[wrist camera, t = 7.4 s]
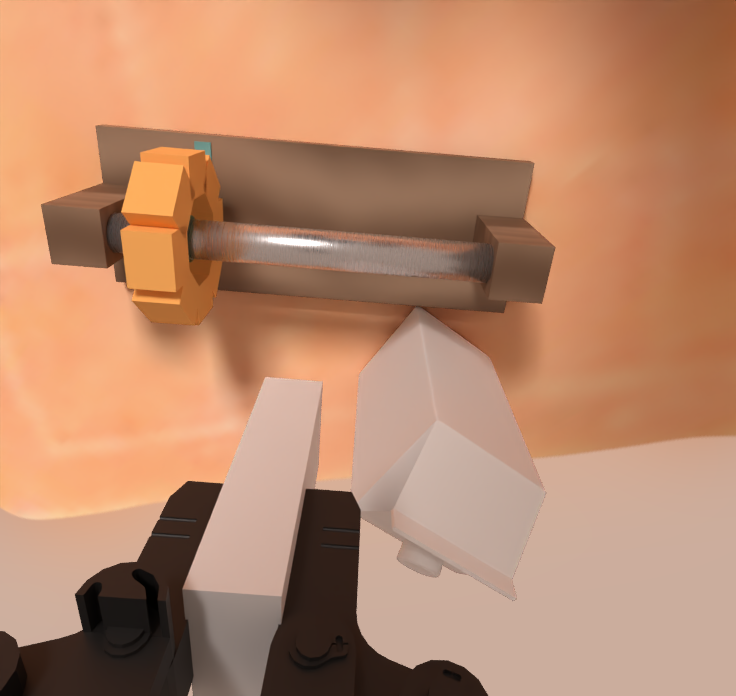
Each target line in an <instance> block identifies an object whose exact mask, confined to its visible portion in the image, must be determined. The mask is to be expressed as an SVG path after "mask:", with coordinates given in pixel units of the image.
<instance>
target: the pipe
mask: <svg viewBox="0 0 736 696" xmlns="http://www.w3.org/2000/svg"><path fill="white" fill-rule="evenodd" d="M129 225H130V224H129V223H128V221H127V220H126V218H125V217H124V215H123V214H122V213H112V214H111V215H110V217H109V219H108V222H107V227H106V237H107V242H108V245H109V248H110V249H111V251H113V252H114V253H123V248H122V240H121V232H120V230H121V229H123V228H125V227H127V226H129ZM187 240H188V254H189V262H192V261H193V260H194V259H199V260H211V261H223V262H236V263H248V264H260V265H272V266H284V267H297V268H309V269H321V270H333V271H346V272H358V273H370V274H382V275H395V276H407V277H419V278H431V279H443V280H456V281H468V282H480V283H487V282H488V281H489V279H490V276H491V272H492V267H493V258H494V252H493V246H492V244H487V243H475V242H463V241H451V240H439V239H427V238H415V237H403V236H391V235H379V234H367V233H355V232H343V231H331V230H319V229H307V228H295V227H283V226H271V225H259V224H247V223H235V222H223V221H211V220H199V219H195V218H194V217H193V216H192V215H191V216H190V221H189V226H188V230H187Z"/></svg>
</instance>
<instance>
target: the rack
mask: <svg viewBox="0 0 736 696" xmlns="http://www.w3.org/2000/svg"><path fill="white" fill-rule="evenodd" d="M96 132H97V140H98V148H99V155H100V163H101V170H102V178H103V183H102V184H99V185H96V186H93V187H91V188H88V189H85V190H82V191H79V192H76V193H73V194H70V195H67V196H64V197H61V198H58V199H56V200H53V201H50V202H47V203H44V204H41V207H42V213H43V218H44V224H45V229H46V235H47V240H48V245H49V251H50V256H51V262H52V264H59V265H72V266H84V267H96V268H109V267H110V266H112V265H113V264H114V269H115V277H116V282H127V281H126V273H125V265H124V256H123V253H114V252H113V251H111V249H110V248H109V245H108V242H107V237H106V227H107V222H108V219H109V217H110V215H111V214H112V213H121V211H122V207H123V203H124V199H125V195H126V192H127V188H128V184H129V180H130V176H131V172H132V168H133V164H134V161H139V162H141V158H140V152H143V151H147V150H151V149H155V148H158V147H170V148H182V149H193V150H205V155H210V158H211V161H212V164H213V166H214V169H215V172H216V175H217V178H218V181H219V183H220V186H221V187H220V192H219V198H222V200H223V222H235V223H247V224H259V225H271V226H283V227H295V228H307V229H319V230H331V231H343V232H355V233H367V234H379V235H391V236H403V237H415V238H427V239H439V240H451V241H463V242H475V243H487V244H492V246H493V252H494V258H493V267H492V272H491V276H490V279H489V281H488V282H487V283H480V282H468V281H456V280H443V279H431V278H419V277H407V276H395V275H382V274H370V273H358V272H346V271H333V270H321V269H309V268H297V267H284V266H272V265H260V264H248V263H236V262H222V267H221V273H220V279H219V284H218V290H226V291H238V292H251V293H263V294H275V295H288V296H300V297H313V298H325V299H337V300H350V301H362V302H375V303H387V304H399V305H412V306H424V307H436V308H449V309H461V310H474V311H486V312H498V313H504V310H505V305H506V301H515V302H527V303H540V304H542V301H543V297H544V293H545V289H546V285H547V280H548V276H549V272H550V268H551V263H552V259H553V255H554V251H555V247H554V246H553V245H552V244H551V243H550V242H549V241H548V240H547V239H545V238H544V237H543V236H542V235H541V234H540V233H539V232H538V231H537V230H535V229H534V228H533V227H532V226H531V225H530V224H529V223H528V222H527V221H525V220H524V219H523V217H524V212H525V207H526V202H527V197H528V193H529V188H530V183H531V178H532V173H533V168H534V163H532V162H530V161H519V160H507V159H496V158H484V157H473V156H461V155H449V154H438V153H426V152H414V151H403V150H391V149H380V148H368V147H356V146H345V145H333V144H322V143H310V142H298V141H287V140H275V139H263V138H252V137H240V136H229V135H217V134H205V133H194V132H182V131H171V130H159V129H147V128H136V127H124V126H113V125H97V126H96Z"/></svg>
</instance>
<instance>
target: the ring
mask: <svg viewBox="0 0 736 696" xmlns="http://www.w3.org/2000/svg"><path fill="white" fill-rule="evenodd" d="M140 158H141V162H139V161H134V164H133V168H132V172H131V176H130V180H129V184H128V188H127V192H126V195H125V199H124V203H123V207H122V211H121V213H122V214H123V215H124V217H125V218H126V220H127V221H128V223H129V224H130V225H129V226H127V227H125V228H123V229H121V230H120V232H121V240H122V248H123V256H124V265H125V273H126V281H127V288H129V289H134V294H133V298H132V301H133V303H134V304H135V305H136V306H137V307H138V308H139V309H140V310H141V311H142V312H143V314H144V315H145V316H146V317H147V318H148V319H149V320H150V321H151V322H156V323H169V324H182V325H200V323H201V322H202V321H203V319H204V318H205V317H206V315H207V314H208V313H209V311H210V310H211V309H212V307H213V297H216V296H217V290H218V284H219V279H220V273H221V267H222V262H223V261H211V260H199V259H194V260H193V261H192V262H189V254H188V240H187V230H188V226H189V221H190V216H191V215H192V216H193V217H194V218H195V219H199V220H211V221H223V200H222V198H219V192H220V187H221V186H220V183H219V181H218V178H217V175H216V172H215V169H214V166H213V164H212V161H211V158H210V155H205V150H193V149H182V148H170V147H158V148H155V149H151V150H147V151H143V152H140Z"/></svg>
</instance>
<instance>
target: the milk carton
mask: <svg viewBox="0 0 736 696" xmlns="http://www.w3.org/2000/svg"><path fill="white" fill-rule="evenodd" d="M351 492H352V493H353V495H354V497H355V499H356V501H357V503H358V505H359V507H360V509H361V518H362V519H364V520H365V521H367V522H369V523H371V524H372V525H374V526H376V527H378V528H379V529H381V530H383V531H384V532H386V533H388V534H390V535H392V536H393V537H395V538H397V539H398V540H400V541H402V542H403V543H402V546H401V549H400V551H399V553H398V556H397V560H398V561H399V562H400V563H402V564H403V565H405V566H406V567H408V568H410V569H412V570H414V571H416V572H418V573H420V574H423V575H426V576H430V577H438V576H439V575H440V572H441V569H442V565H443V566H445V567H447V568H448V569H450V570H452V571H454V572H456V573H460V574H467V575H469V576H471V577H473V578H475V579H476V580H478V581H480V582H482V583H483V584H485V585H487V586H488V587H490V588H492V589H493V590H495V591H497V592H499V593H500V594H502V595H504V596H505V597H507V598H509V599H511V600H512V601H515V600H516V599H517V597H516V593H515V589H514V585H513V582H512V579H513V576H514V574H515V571H516V569H517V566H518V564H519V561H520V559H521V556H522V554H523V551H524V548H525V546H526V544H527V541H528V538H529V536H530V533H531V531H532V528H533V526H534V523H535V521H536V518H537V516H538V513H539V511H540V508H541V505H542V503H543V500H544V498H545V495H546V492H545V489H544V487H543V485H542V482H541V480H540V477H539V475H538V473H537V470H536V468H535V465H534V463H533V460H532V458H531V456H530V453H529V451H528V448H527V446H526V443H525V441H524V439H523V436H522V434H521V431H520V429H519V427H518V424H517V422H516V419H515V417H514V414H513V412H512V410H511V407H510V405H509V402H508V400H507V398H506V395H505V393H504V390H503V388H502V385H501V383H500V381H499V378H498V376H497V373H496V371H495V369H494V366H493V364H492V361H491V359H490V358H489V357H488V356H487V355H486V354H485V353H483V352H482V351H481V350H479V349H478V348H476V347H475V346H474V345H472V344H471V343H470V342H468V341H467V340H465V339H464V338H463V337H461V336H460V335H459V334H457V333H456V332H454V331H453V330H452V329H450V328H449V327H448V326H446V325H445V324H443V323H442V322H441V321H439V320H438V319H437V318H435V317H434V316H432V315H431V314H430V313H428V312H427V311H425V310H424V309H423V308H421V307H420V306H416V307H415V308H414V309H413V311H412V312H411V313H410V314H409V315H408V316H407V318H406V319H405V320H404V321H403V322H402V324H401V325H400V326H399V327H398V328H397V329H396V331H395V332H394V333H393V334H392V335H391V337H390V338H389V339H388V340H387V341H386V342H385V344H384V345H383V346H382V347H381V348H380V350H379V351H378V352H377V353H376V354H375V355H374V357H373V358H372V359H371V360H370V361H369V363H368V364H367V365H366V366H365V367H364V368H363V370H362V371H361V372H360V373H359V380H358V395H357V409H356V424H355V438H354V453H353V467H352V483H351Z"/></svg>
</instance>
